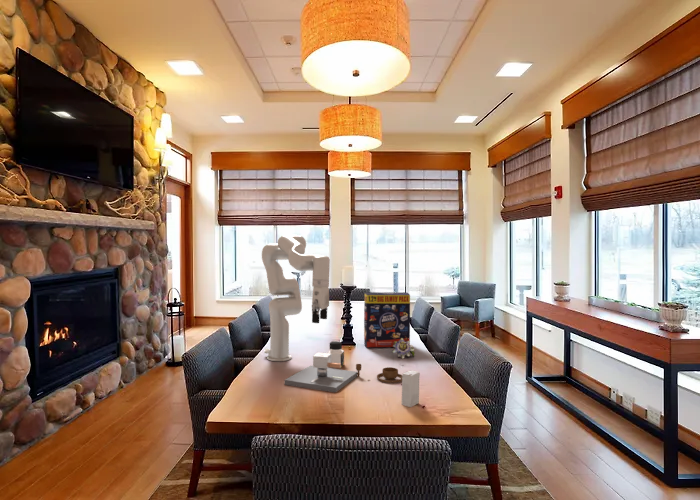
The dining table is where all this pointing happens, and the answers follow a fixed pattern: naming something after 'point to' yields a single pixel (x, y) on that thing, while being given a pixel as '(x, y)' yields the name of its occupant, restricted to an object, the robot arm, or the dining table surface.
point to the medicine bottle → (336, 352)
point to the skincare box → (410, 388)
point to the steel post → (321, 372)
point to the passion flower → (403, 348)
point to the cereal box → (386, 318)
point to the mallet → (324, 361)
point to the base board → (321, 379)
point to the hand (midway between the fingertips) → (319, 320)
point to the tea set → (385, 374)
